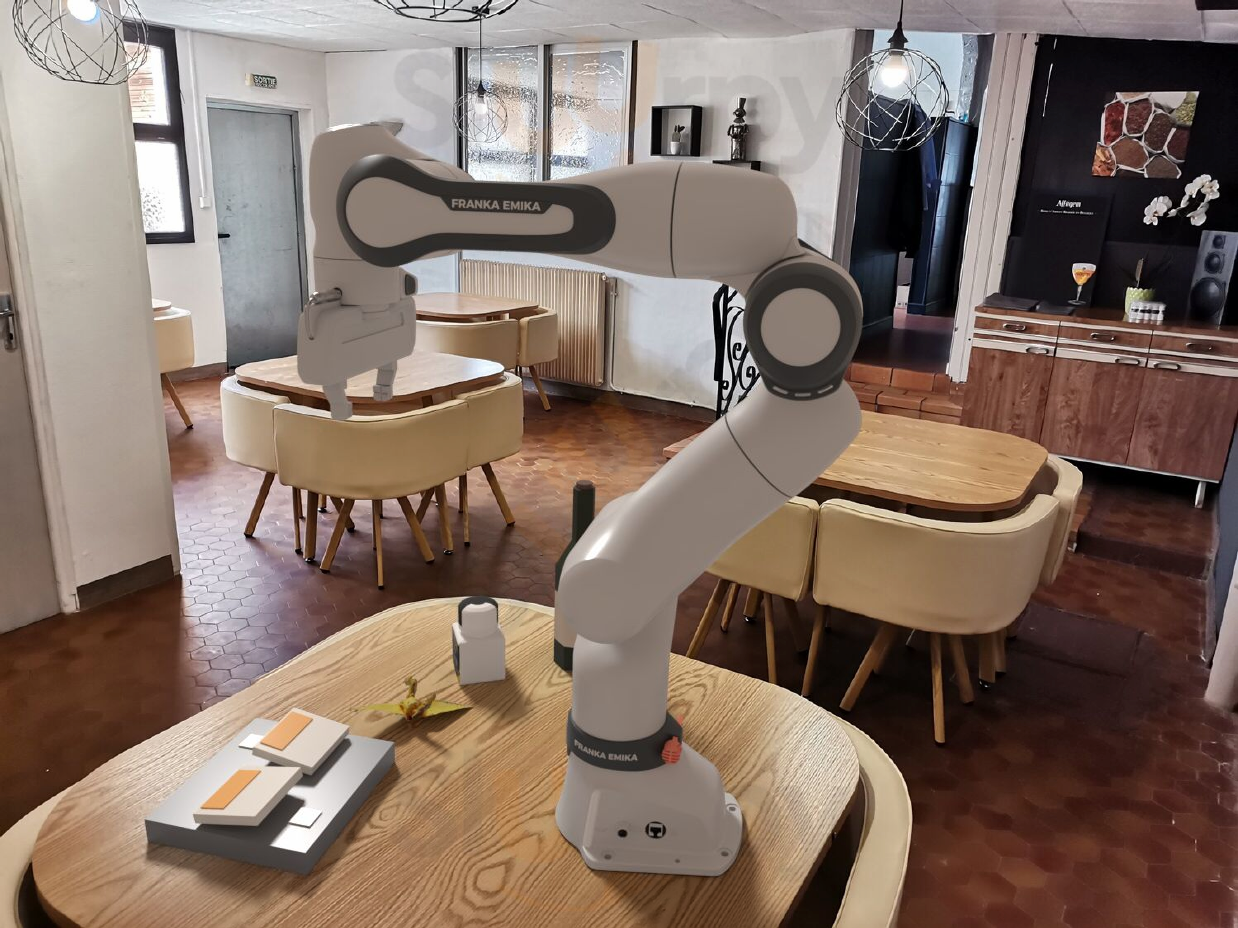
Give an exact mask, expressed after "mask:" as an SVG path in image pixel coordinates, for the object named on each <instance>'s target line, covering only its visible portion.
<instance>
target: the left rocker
mask: <svg viewBox="0 0 1238 928" xmlns="http://www.w3.org/2000/svg"><path fill="white" fill-rule="evenodd" d="M302 776H303V775H302V771H301V767H269V766H242V767H241V768H240V769H239V770H238V771H237V772H235V773H234V774H233V775H232V776H231V777H230V778H229V779H228V780H227V781H226V782H225V783H224V784H223V785H222V786H221V787H220V788H219V789H218V790H217V791H216V792H215V793H214V794H213V795H212V796H211V797H210V798H209V799H208V800H207V801H205V802H204V803H203V804H202V805H201V806H200V807H199V808H198V809H197V810H196V811H195V812H194V813H193V817H194V821H195V823H201V824H225V825H250V826H258V825H259V824H260V822H261V821H262V820H263V819H264V818H265V817H266V816H267V815H268V814H269V813H270V811H271V810H272V809H273V808H274V807H275V806H276V805H277V804H278V803H279V802H280V801H281V799H282V798H283V797H284V796H285V795H286V794H287V793H288V792H289V791H290V790H291V788H292V787H293V786H294V785H295V784H296V783H297V782H298V781H299V780H300V779H301V778H302Z"/></svg>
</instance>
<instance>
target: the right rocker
mask: <svg viewBox="0 0 1238 928" xmlns="http://www.w3.org/2000/svg"><path fill="white" fill-rule="evenodd" d="M348 734H350V725H347V724H344V723H341V722H339V721H336V720H332V719H329V718H327V717H324V716H320V715H317V714H315V713H312V712H308V711H307V710H303V709H300V708H297V707H292V708H291V709H290V711H289V712H287V714H286V715H284V717H282V718H281V719H280V721H278V723H277V724H276V725H275V726H274V727H273V728H272V729H271V730H270V731H269V732H268V733H267V734H266V735H265V736H264V737H263V738H262V739H260V740H259V741H258V742H257V743H256V744H255V745H254V746H253V751H252V755H254V756H257V757H260V758H263V759H266V760H268V761H271V762H274V763H277V764H280V765H283V766H285V767H301V771H302V772H303V773H305V774H308V775H312V774H313V773H314V772H315V771H316V770H317V768H318V767H319V766H320V765H321V764H322V763H323V762H324V761H325V760H326V758H327V757H328V756H329V755H330V754H331V753H332V752H333V751H334V750H335V748H336V747H337V746H338V745H339V744H340V743H341V742H342V741H343V740H344V738H345V737H346V736H347V735H348Z"/></svg>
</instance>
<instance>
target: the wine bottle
mask: <svg viewBox="0 0 1238 928" xmlns="http://www.w3.org/2000/svg"><path fill="white" fill-rule="evenodd" d="M575 483H576V484H575V485H574V486H573V487H572V515H571V516H572V520H571V521H572V523H571V524H572V525H571V540H570V541H569V543H568V544H567V546H566V547H565V549H564V551H563V552H562V554H561V556H560V557H559V559H558V560H557V561H556V563H555V565H554V567H555V568H554V572H555V574H554V617H553V618H554V623H553V624H554V625H553V627H554V628H553V662H554V663H555V664H556V665H557V666H558V667H559V668H560V669H562V670H563V671H567V672H573V650H574V645H575V642H576V638H577V633H576V632H575V631H573V630H572V629H571V628H570V626H569V625H568V624H567V623H566V621H565V620H564V618H563V616H562V614H561V612H560V609H559V605H558V587H559V582H560V577H561V573H562V569H563V566H564V563H565V560H566V558H567V556H568V555H569V553H570V552H571V550H572V549H573V548H574V546H575V545H576V544H577V542H578V541H579V539H580V538H581V537H582V535H583V534H584V533H585V531H586V530H587V528H588V527H589V526H590V524H591V523H592V521H593V520H594V519H595V517H596V514H595V513H596V511H595V510H596V486H594V485H593V484H594V482H593V481H591V480H589V479H578V480H576V482H575Z"/></svg>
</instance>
